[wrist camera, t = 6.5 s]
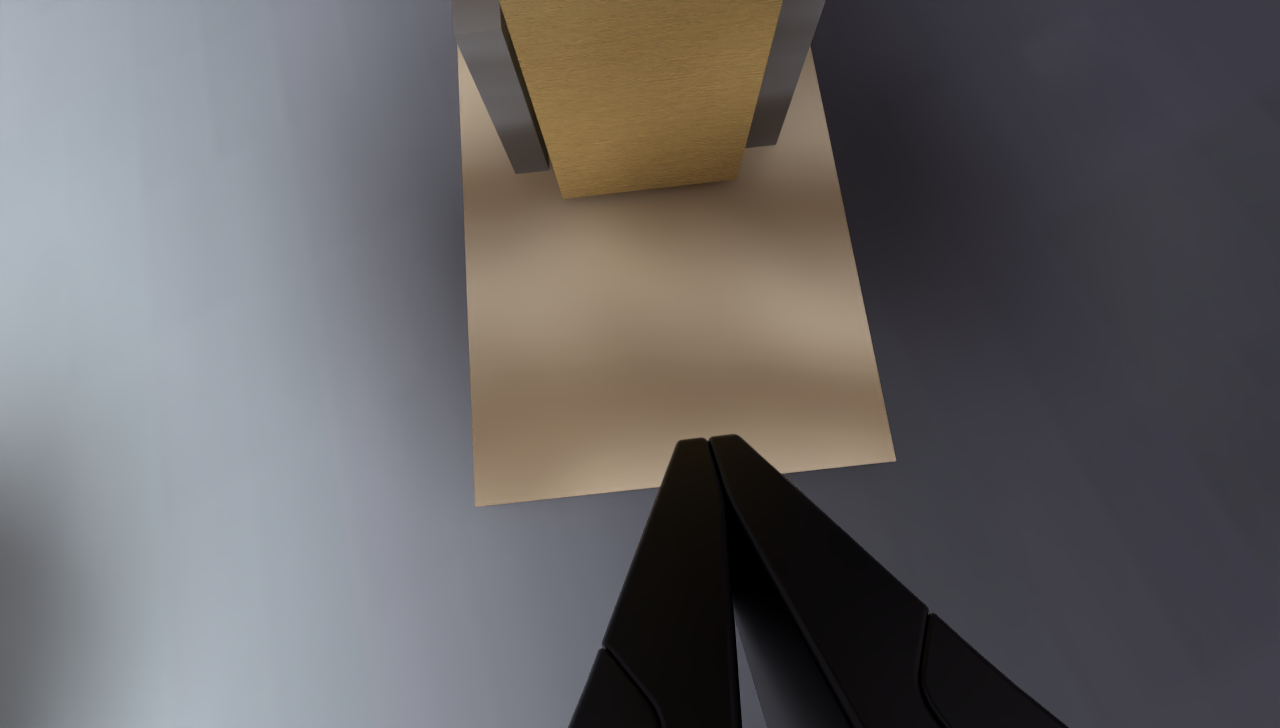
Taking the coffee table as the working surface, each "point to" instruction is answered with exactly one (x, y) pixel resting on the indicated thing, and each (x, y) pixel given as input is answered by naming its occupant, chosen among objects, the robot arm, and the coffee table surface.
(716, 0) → the latch bar
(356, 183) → the coffee table surface
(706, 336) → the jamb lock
